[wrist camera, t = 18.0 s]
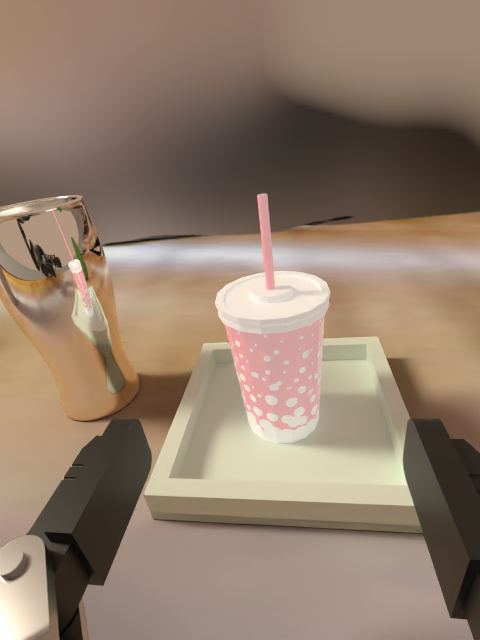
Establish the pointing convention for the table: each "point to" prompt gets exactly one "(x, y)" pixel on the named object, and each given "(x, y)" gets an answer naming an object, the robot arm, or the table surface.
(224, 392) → the tray
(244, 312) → the beverage cup
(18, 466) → the table surface
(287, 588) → the table surface
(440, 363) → the table surface
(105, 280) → the metal tumbler
